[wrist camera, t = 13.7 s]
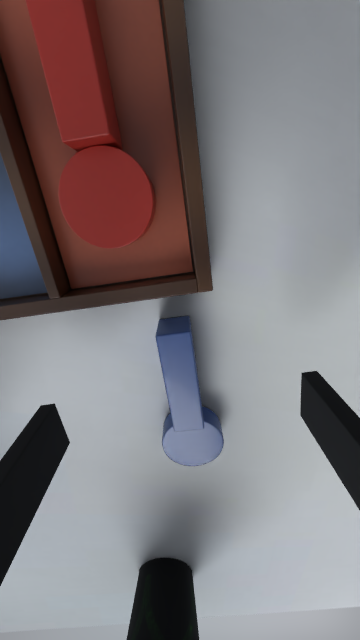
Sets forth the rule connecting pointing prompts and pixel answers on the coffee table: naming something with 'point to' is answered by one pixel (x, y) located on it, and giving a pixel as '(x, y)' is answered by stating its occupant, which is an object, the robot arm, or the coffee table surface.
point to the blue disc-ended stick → (185, 398)
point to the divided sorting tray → (137, 140)
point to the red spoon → (89, 128)
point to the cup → (164, 602)
